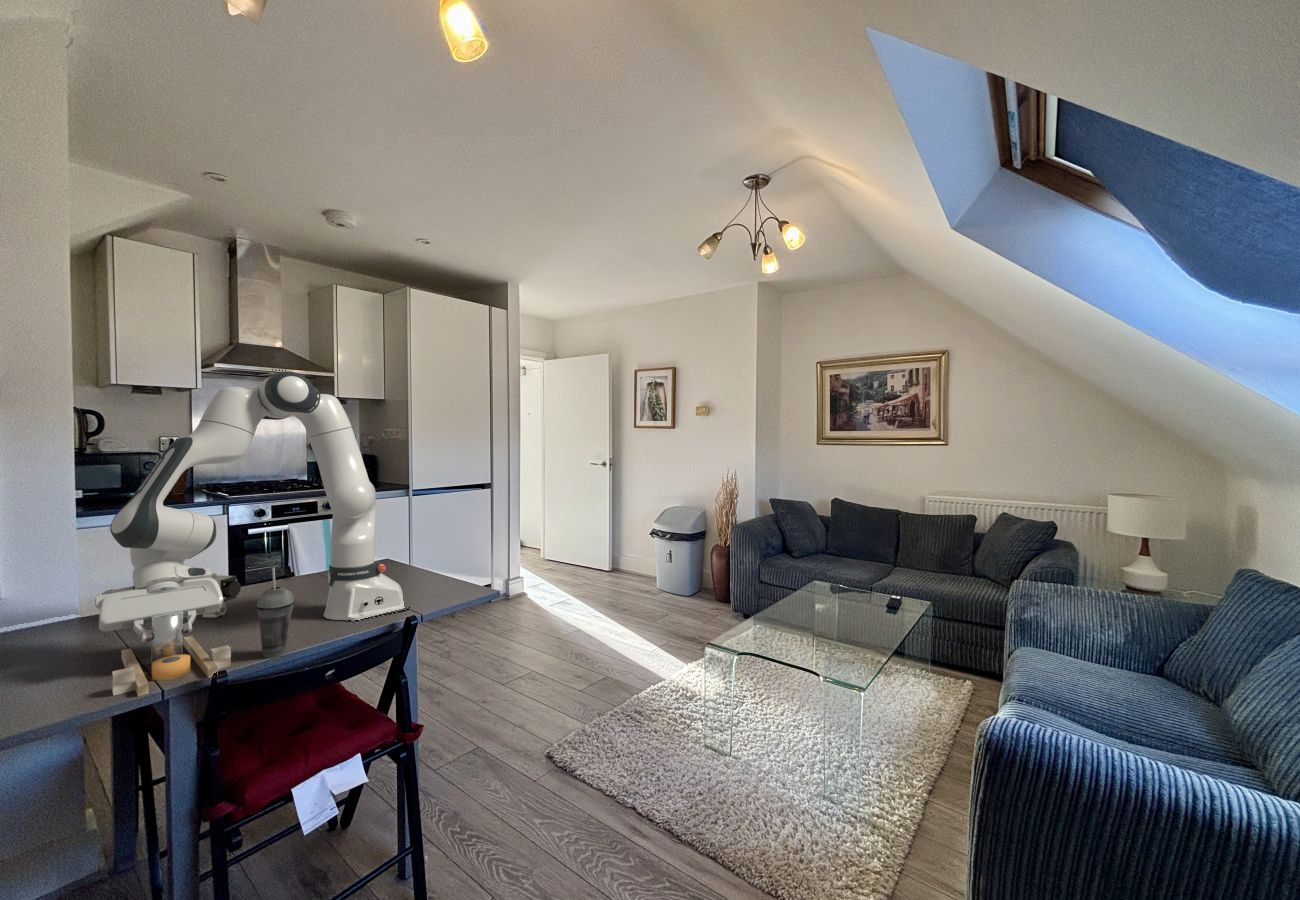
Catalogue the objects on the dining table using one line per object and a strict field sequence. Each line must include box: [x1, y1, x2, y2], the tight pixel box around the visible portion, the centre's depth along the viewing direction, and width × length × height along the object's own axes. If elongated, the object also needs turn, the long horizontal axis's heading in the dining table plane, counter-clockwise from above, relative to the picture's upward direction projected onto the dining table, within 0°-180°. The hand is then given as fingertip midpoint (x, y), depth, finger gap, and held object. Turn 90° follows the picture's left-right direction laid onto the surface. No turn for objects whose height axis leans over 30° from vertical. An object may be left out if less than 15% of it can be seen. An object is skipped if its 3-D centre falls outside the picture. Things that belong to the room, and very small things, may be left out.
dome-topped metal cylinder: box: [150, 611, 184, 665], centre depth 113 cm, size 5×5×10 cm
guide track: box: [111, 635, 232, 697], centre depth 113 cm, size 18×26×4 cm
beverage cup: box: [255, 567, 295, 659], centre depth 121 cm, size 7×7×20 cm
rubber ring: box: [151, 653, 191, 681], centre depth 110 cm, size 6×6×3 cm
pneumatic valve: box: [202, 573, 242, 619], centre depth 146 cm, size 6×12×12 cm, turn 89°
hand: (167, 636), depth 113 cm, fingers closed on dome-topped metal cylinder, 5 cm apart
